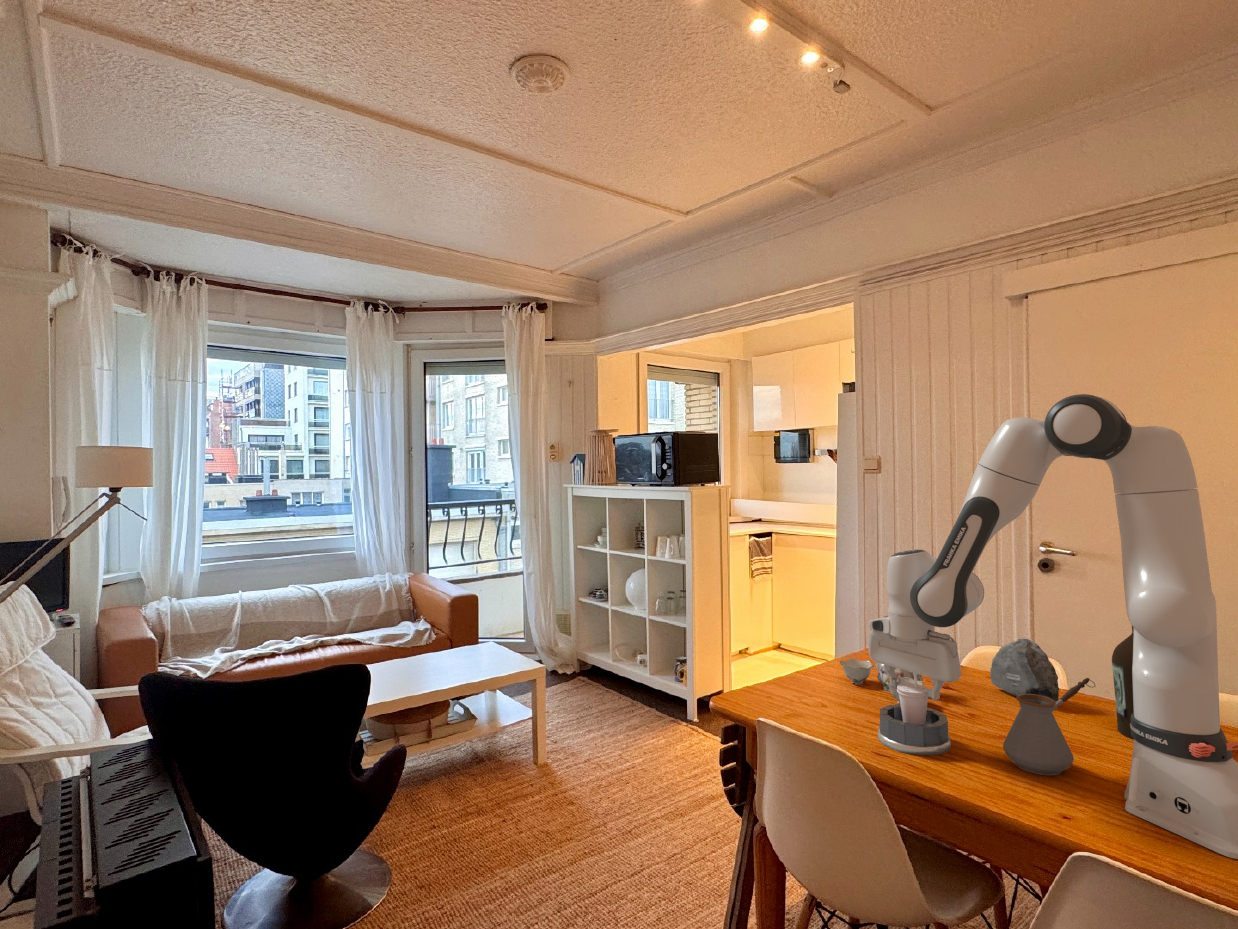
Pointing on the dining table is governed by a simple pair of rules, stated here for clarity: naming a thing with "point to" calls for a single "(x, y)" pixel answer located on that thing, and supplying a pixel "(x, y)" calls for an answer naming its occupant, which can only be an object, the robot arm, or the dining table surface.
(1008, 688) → the decorative rock
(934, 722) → the ring
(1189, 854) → the dining table surface
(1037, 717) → the coffee pot
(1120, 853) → the dining table surface
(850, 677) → the chinaware
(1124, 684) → the olive oil
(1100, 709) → the dining table surface
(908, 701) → the smoothie
